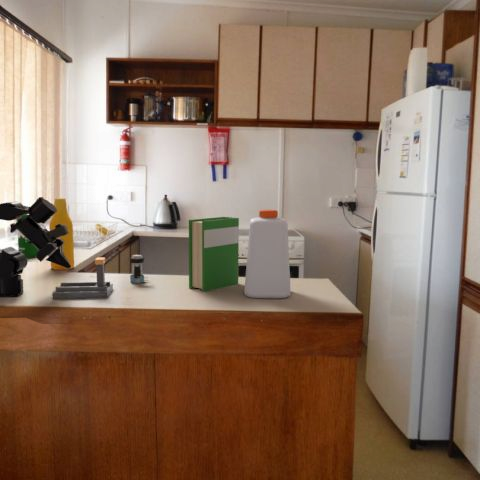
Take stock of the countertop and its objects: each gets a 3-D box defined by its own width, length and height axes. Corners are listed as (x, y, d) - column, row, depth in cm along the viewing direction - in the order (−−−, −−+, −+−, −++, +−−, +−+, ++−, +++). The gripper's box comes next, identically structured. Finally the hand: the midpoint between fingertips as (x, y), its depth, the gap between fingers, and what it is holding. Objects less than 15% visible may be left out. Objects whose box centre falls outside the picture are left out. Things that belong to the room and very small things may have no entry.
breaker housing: (52, 299, 159) (52, 289, 159) (61, 290, 171) (61, 281, 171) (107, 298, 161) (107, 288, 161) (112, 289, 173) (112, 280, 173)
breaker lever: (95, 288, 164) (94, 259, 163) (97, 285, 169) (96, 257, 167) (104, 288, 164) (103, 259, 163) (106, 285, 169) (106, 257, 168)
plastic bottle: (245, 288, 177) (245, 208, 173) (288, 288, 176) (290, 208, 172) (244, 298, 162) (244, 211, 158) (291, 299, 161) (293, 212, 157)
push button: (146, 280, 188) (146, 253, 187) (149, 283, 183) (149, 255, 182) (128, 281, 186) (128, 254, 185) (131, 284, 181) (130, 256, 180)
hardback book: (204, 291, 171) (204, 221, 168) (189, 288, 175) (188, 219, 172) (238, 283, 184) (238, 218, 181) (223, 280, 189) (223, 216, 186)
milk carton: (15, 257, 236) (13, 214, 233) (32, 254, 244) (30, 213, 241) (26, 259, 231) (24, 215, 229) (43, 256, 239) (42, 214, 236)
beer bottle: (64, 270, 205) (62, 199, 201) (46, 269, 208) (43, 198, 204) (79, 266, 213) (76, 198, 210) (60, 265, 216) (58, 197, 212)
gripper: (47, 217, 153) (84, 254, 156) (58, 214, 172) (91, 247, 175) (19, 242, 153) (57, 279, 156) (34, 236, 171) (67, 269, 174)
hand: (70, 267), depth 165 cm, fingers closed
